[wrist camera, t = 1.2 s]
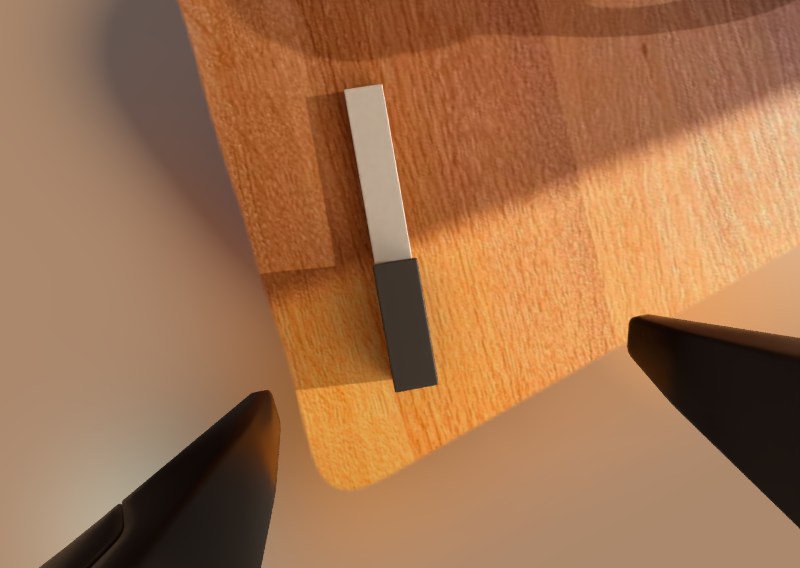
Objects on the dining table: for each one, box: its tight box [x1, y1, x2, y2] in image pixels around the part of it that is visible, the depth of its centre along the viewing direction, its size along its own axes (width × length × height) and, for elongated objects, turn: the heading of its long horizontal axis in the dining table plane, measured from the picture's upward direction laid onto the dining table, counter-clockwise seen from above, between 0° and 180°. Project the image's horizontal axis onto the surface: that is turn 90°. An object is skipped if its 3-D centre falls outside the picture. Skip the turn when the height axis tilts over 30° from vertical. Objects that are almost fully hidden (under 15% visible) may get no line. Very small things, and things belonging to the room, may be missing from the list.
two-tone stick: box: [344, 84, 438, 392], centre depth 21 cm, size 17×2×2 cm, turn 10°
